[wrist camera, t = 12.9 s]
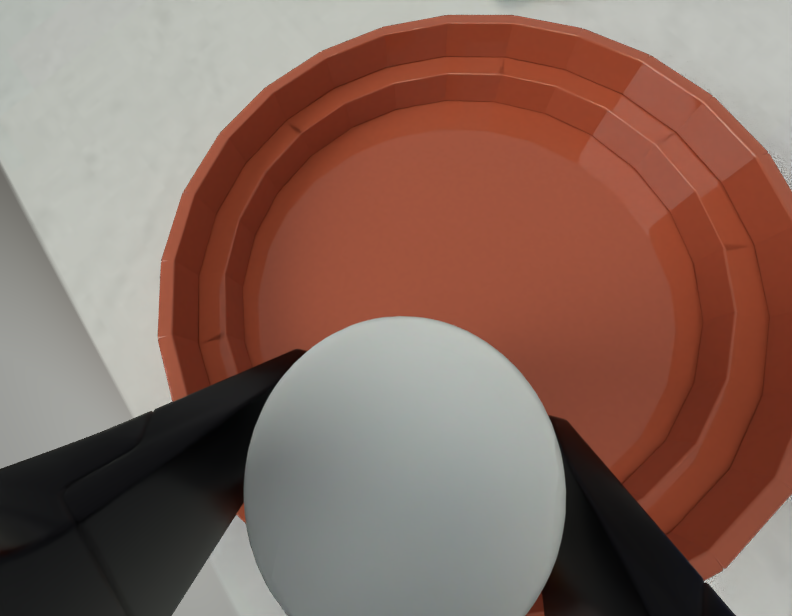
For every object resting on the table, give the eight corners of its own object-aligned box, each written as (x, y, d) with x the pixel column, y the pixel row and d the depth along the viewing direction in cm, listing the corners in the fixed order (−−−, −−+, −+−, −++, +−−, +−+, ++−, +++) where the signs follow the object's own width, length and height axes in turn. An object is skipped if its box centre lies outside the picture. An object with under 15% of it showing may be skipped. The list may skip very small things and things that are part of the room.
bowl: (435, 741, 12) (443, 889, 9) (132, 257, 19) (60, 219, 15) (850, 307, 16) (988, 274, 12) (472, 24, 22) (483, -55, 19)
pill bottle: (455, 540, 13) (554, 860, 4) (321, 476, 14) (123, 602, 5) (499, 396, 15) (650, 360, 5) (375, 348, 16) (309, 242, 6)
